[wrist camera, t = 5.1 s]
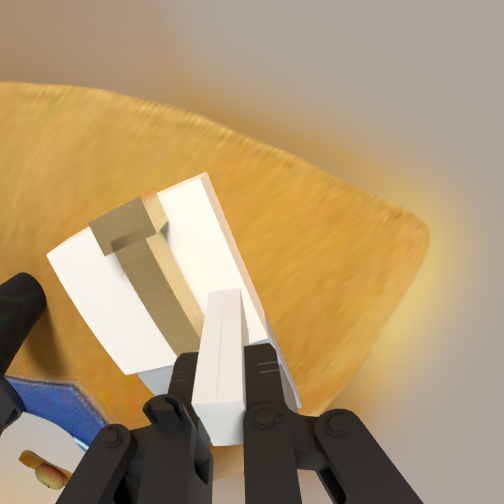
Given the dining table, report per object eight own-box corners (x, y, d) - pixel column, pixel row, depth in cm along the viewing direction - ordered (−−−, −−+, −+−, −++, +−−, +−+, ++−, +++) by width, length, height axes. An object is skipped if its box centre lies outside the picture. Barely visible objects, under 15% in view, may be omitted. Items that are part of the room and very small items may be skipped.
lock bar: (194, 368, 24) (191, 393, 21) (104, 212, 18) (85, 224, 15) (240, 356, 23) (241, 381, 20) (156, 186, 18) (142, 194, 15)
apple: (63, 477, 51) (58, 495, 43) (37, 462, 48) (31, 479, 40) (69, 474, 48) (63, 493, 41) (41, 457, 45) (33, 477, 38)
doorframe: (191, 414, 34) (185, 469, 25) (70, 237, 23) (16, 278, 15) (297, 389, 32) (311, 448, 24) (206, 171, 22) (188, 189, 14)
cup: (52, 276, 25) (-12, 341, 14) (55, 328, 27) (9, 395, 16) (6, 256, 24) (-57, 305, 12) (12, 307, 26) (-38, 361, 15)
